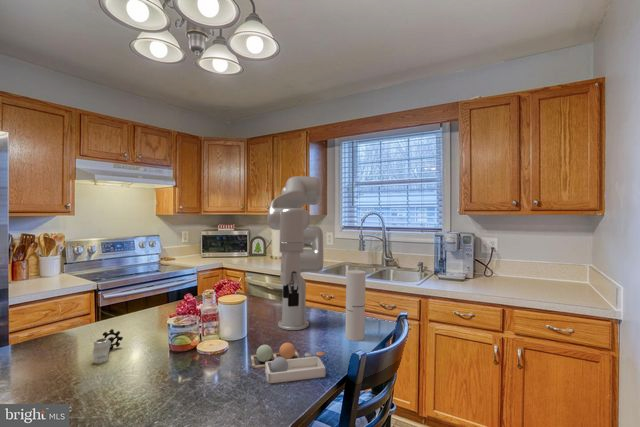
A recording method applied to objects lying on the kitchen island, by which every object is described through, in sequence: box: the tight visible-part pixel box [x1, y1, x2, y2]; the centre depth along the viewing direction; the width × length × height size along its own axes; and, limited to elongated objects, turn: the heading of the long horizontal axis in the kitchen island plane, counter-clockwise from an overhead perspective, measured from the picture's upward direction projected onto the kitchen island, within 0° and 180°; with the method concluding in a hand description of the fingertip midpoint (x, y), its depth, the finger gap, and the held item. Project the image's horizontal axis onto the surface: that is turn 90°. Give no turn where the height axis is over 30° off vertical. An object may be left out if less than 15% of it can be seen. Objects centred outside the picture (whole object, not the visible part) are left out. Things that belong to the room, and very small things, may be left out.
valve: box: [92, 328, 124, 365], centre depth 106 cm, size 7×7×12 cm
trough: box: [264, 355, 326, 385], centre depth 96 cm, size 8×16×3 cm, turn 106°
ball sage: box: [255, 344, 274, 363], centre depth 103 cm, size 5×5×5 cm
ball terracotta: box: [278, 342, 296, 360], centre depth 105 cm, size 5×5×5 cm
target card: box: [304, 351, 326, 358], centre depth 109 cm, size 6×9×1 cm, turn 106°
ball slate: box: [271, 356, 288, 373], centre depth 95 cm, size 5×5×5 cm
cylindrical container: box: [344, 269, 367, 342], centre depth 126 cm, size 7×7×25 cm
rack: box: [250, 350, 301, 369], centre depth 104 cm, size 8×15×1 cm, turn 106°
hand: (290, 301), depth 104 cm, fingers open, 9 cm apart
